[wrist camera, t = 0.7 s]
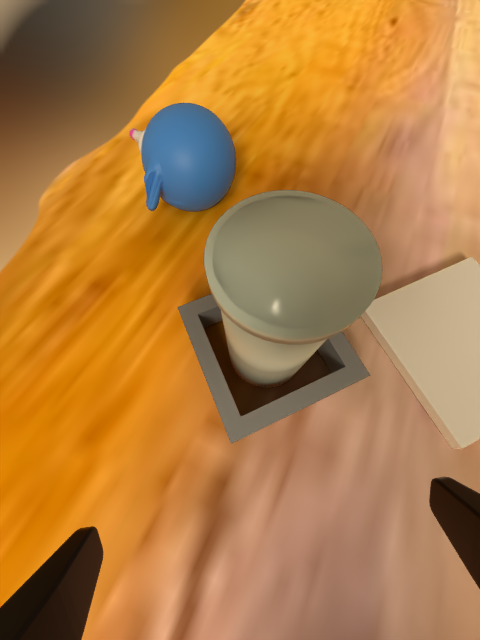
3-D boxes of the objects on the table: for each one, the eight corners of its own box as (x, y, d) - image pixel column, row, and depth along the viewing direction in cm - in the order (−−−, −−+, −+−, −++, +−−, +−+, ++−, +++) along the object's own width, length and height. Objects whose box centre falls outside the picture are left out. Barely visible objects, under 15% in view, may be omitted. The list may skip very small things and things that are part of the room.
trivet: (571, 378, 21) (587, 376, 20) (451, 447, 19) (462, 448, 18) (463, 263, 25) (471, 256, 24) (356, 310, 23) (361, 305, 22)
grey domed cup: (310, 389, 21) (406, 331, 9) (227, 394, 20) (203, 342, 8) (295, 290, 24) (348, 151, 12) (223, 294, 24) (203, 158, 12)
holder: (353, 382, 21) (370, 375, 18) (232, 441, 19) (231, 443, 16) (290, 279, 24) (296, 260, 22) (185, 322, 23) (177, 307, 20)
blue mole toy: (178, 142, 32) (158, 51, 24) (259, 180, 29) (265, 91, 22) (107, 203, 28) (57, 117, 21) (193, 253, 26) (171, 177, 18)
